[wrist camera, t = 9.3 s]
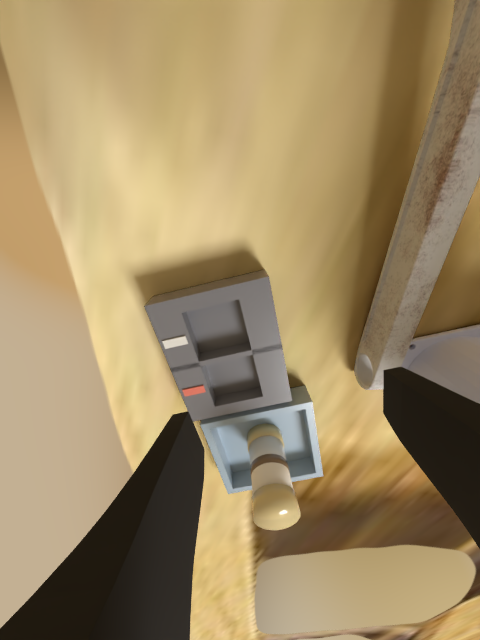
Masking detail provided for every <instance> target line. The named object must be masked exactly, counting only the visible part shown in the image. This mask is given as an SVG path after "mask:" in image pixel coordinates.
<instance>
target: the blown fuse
mask: <svg viewBox="0 0 480 640" xmlns="http://www.w3.org/2000/svg"><path fill="white" fill-rule="evenodd" d="M247 446H248V452H249V456H250V472H251V480H252V492H253V496H252V509H253V520H254V522H255V524H256V525H257V526H259V527H261V528H263V529H267V530H281V529H285V528H288V527H290V526H292V525H294V524H295V523H296V522H297V521H298V520H299V518H300V510H299V505H298V501H297V497H296V493H295V491H294V490H293V486H292V481H291V477H290V471H289V467H288V463H287V460H286V455H285V451H284V442H283V437H282V433H281V431H280V429H279V428H278V427H277V426H275V425H273V424H267V423H264V424H259V425H256V426H254V427H253V428H251V429H250V430H249V432H248V434H247Z"/></svg>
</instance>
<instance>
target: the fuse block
mask: <svg viewBox="0 0 480 640" xmlns="http://www.w3.org/2000/svg"><path fill="white" fill-rule="evenodd" d="M144 307H145V309H146V312H147V314H148V317H149V319H150V321H151V324H152V326H153V329H154V331H155V333H156V336H157V338H158V341H159V343H160V345H161V348H162V350H163V352H164V355H165V357H166V360H167V362H168V364H169V367H170V369H171V372H172V374H173V376H174V379H175V381H176V384H177V386H178V388H179V391H180V393H181V396H182V398H183V400H184V403H185V405H186V407H187V410H188V411H189V414H190V416H191V419H192V421H198V420H203V419H208V418H213V417H217V416H222V415H227V414H232V413H237V412H241V411H246V410H251V409H256V408H260V407H265V406H270V405H275V404H280V403H284V402H289V401H292V397H291V391H290V386H289V381H288V375H287V370H286V365H285V360H284V354H283V349H282V344H281V338H280V333H279V328H278V323H277V317H276V312H275V307H274V301H273V296H272V291H271V286H270V280H269V276H268V274H267V273H266V271H265V270H260V271H256V272H252V273H248V274H244V275H240V276H235V277H231V278H227V279H223V280H219V281H215V282H211V283H206V284H202V285H198V286H194V287H190V288H186V289H181V290H177V291H173V292H169V293H165V294H161V295H156V296H153V297H152V298H151V299H150V300H149V301H148V303H147V304H146V305H145V306H144Z"/></svg>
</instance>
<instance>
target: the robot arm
mask: <svg viewBox="0 0 480 640" xmlns="http://www.w3.org/2000/svg"><path fill="white" fill-rule="evenodd" d="M410 345H412V346H411V347H409V348H408V351H407V353H406V356H405V358H404V360H403V363H402V365H401V367H396V368H392V369H387V370H384V388H383V413H384V415H385V417H386V418H387V420H388V422H389V423H390V425H391V427H392V429H393V430H394V432H395V433H396V435H397V437H398V438H399V440H400V441H401V443H402V444H403V445H404V447H405V448H406V449H407V451H408V452H409V453H410V455H411V456H412V457H413V459H414V460H415V461H416V462H417V464H418V465H419V466H420V468H421V469H422V470H423V472H424V473H425V474H426V475H427V477H428V478H429V479H430V481H431V482H432V483H433V485H434V486H435V487H436V488H437V490H438V491H439V492H440V494H441V495H442V496H443V498H444V499H445V500H446V501H447V503H448V504H449V505H450V507H451V508H452V509H453V511H454V512H455V513H456V515H457V516H458V517H459V519H460V520H461V522H462V523H463V524H464V526H465V527H466V529H467V530H468V532H469V533H470V535H471V536H472V538H473V539H474V541H475V542H476V544H477V545H478V547H479V548H480V324H478V325H474V326H469V327H465V328H460V329H455V330H451V331H446V332H442V333H437V334H432V335H428V336H423V337H419V338H414V339H412V341H411V344H410ZM203 482H204V447H203V445H202V443H201V440H200V438H199V435H198V433H197V431H196V428H195V426H194V423H193V421H192V419H191V416H190V414H189V411H188V412H183V413H178V414H174V415H172V417H171V418H170V420H169V421H168V423H167V424H166V426H165V427H164V429H163V430H162V432H161V433H160V435H159V436H158V438H157V439H156V441H155V442H154V444H153V445H152V447H151V449H150V450H149V452H148V453H147V454H146V456H145V457H144V459H143V460H142V462H141V463H140V465H139V466H138V468H137V469H136V471H135V472H134V474H133V475H132V476H131V478H130V479H129V481H128V482H127V483H126V485H125V486H124V487H123V489H122V490H121V491H120V493H119V494H118V496H117V497H116V498H115V500H114V501H113V502H112V504H111V505H110V506H109V508H108V509H107V510H106V512H105V513H104V514H103V515H102V516H101V518H100V519H99V520H98V521H97V523H96V524H95V525H94V526H93V527H92V529H91V530H90V531H89V532H88V533H87V535H86V536H85V537H84V538H83V539H82V541H81V542H80V543H79V544H78V545H77V546H76V548H75V549H74V550H73V551H72V552H71V553H70V555H69V556H68V557H67V558H66V559H65V560H64V561H63V562H62V563H61V564H60V566H59V567H58V568H57V569H56V570H55V571H54V572H53V573H52V574H51V576H50V577H49V578H48V579H47V580H46V581H45V582H44V583H43V584H42V585H41V586H40V588H39V589H38V590H37V591H36V592H35V593H34V594H33V595H32V596H31V597H30V599H29V600H28V601H27V602H26V603H25V604H24V605H23V606H22V607H21V608H20V609H19V610H18V611H17V612H16V613H15V614H14V615H13V616H12V617H11V618H10V619H9V620H8V621H7V622H6V623H5V624H4V625H3V626H2V627H1V628H0V640H190V614H191V594H192V575H193V564H194V554H195V546H196V538H197V530H198V522H199V515H200V507H201V499H202V490H203Z"/></svg>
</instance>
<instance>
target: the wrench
mask: <svg viewBox="0 0 480 640" xmlns="http://www.w3.org/2000/svg"><path fill="white" fill-rule="evenodd" d="M479 176H480V0H455V5H454V13H453V20H452V27H451V34H450V42H449V47H448V50H447V54H446V57H445V60H444V64H443V67H442V71H441V74H440V78H439V81H438V85H437V88H436V92H435V95H434V99H433V102H432V105H431V109H430V112H429V116H428V119H427V123H426V126H425V130H424V133H423V136H422V140H421V143H420V146H419V149H418V153H417V156H416V159H415V163H414V166H413V169H412V172H411V176H410V179H409V182H408V186H407V189H406V192H405V195H404V199H403V202H402V205H401V209H400V212H399V215H398V218H397V222H396V225H395V228H394V232H393V235H392V238H391V242H390V245H389V248H388V252H387V255H386V258H385V262H384V265H383V268H382V272H381V275H380V278H379V282H378V285H377V288H376V292H375V295H374V298H373V302H372V305H371V308H370V311H369V315H368V318H367V321H366V324H365V328H364V331H363V334H362V337H361V340H360V344H359V347H358V352H357V357H356V361H355V366H354V372H355V376H356V379H357V381H358V383H359V385H360V386H361V387H362V388H364V389H366V390H374V389H383V388H384V370H387V369H392V368H396V367H401V365H402V363H403V360H404V358H405V356H406V353H407V351H408V348H409V346H410V344H411V341H412V339H413V336H414V334H415V331H416V329H417V327H418V324H419V322H420V319H421V317H422V314H423V312H424V310H425V307H426V305H427V302H428V300H429V298H430V295H431V293H432V290H433V288H434V285H435V283H436V281H437V278H438V276H439V273H440V271H441V268H442V266H443V264H444V261H445V259H446V256H447V254H448V252H449V249H450V247H451V244H452V242H453V239H454V237H455V235H456V232H457V230H458V227H459V225H460V222H461V220H462V218H463V215H464V213H465V210H466V208H467V206H468V203H469V201H470V198H471V196H472V193H473V191H474V189H475V186H476V184H477V181H478V179H479Z"/></svg>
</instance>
